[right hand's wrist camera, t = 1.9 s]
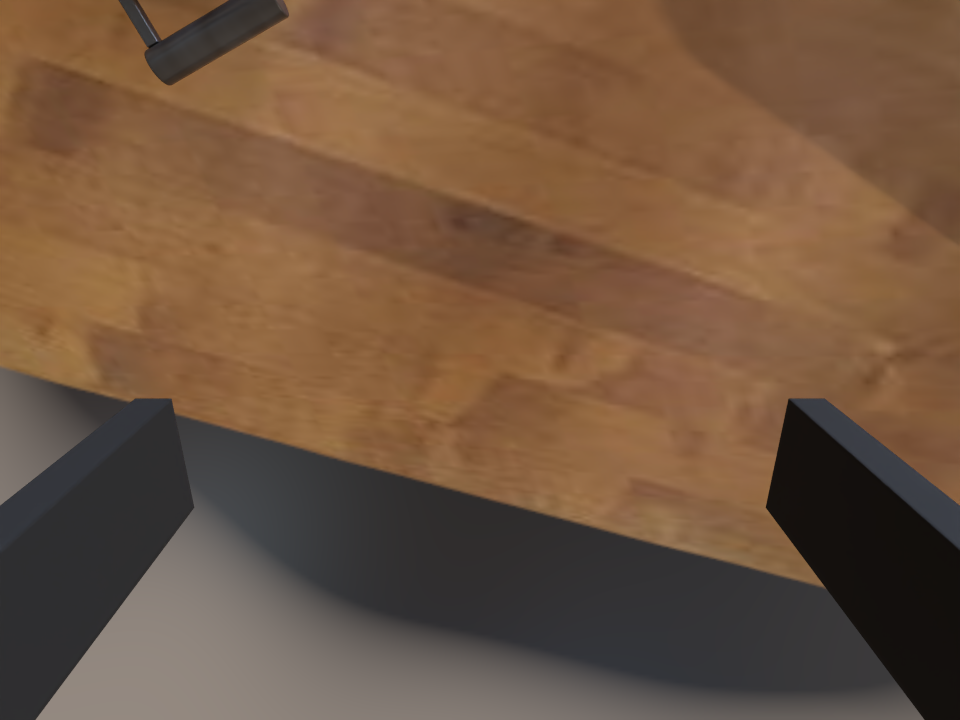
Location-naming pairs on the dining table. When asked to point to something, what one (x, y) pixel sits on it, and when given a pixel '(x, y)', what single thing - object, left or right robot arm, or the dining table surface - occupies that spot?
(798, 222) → the dining table surface
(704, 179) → the dining table surface
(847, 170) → the dining table surface
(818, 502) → the right robot arm
